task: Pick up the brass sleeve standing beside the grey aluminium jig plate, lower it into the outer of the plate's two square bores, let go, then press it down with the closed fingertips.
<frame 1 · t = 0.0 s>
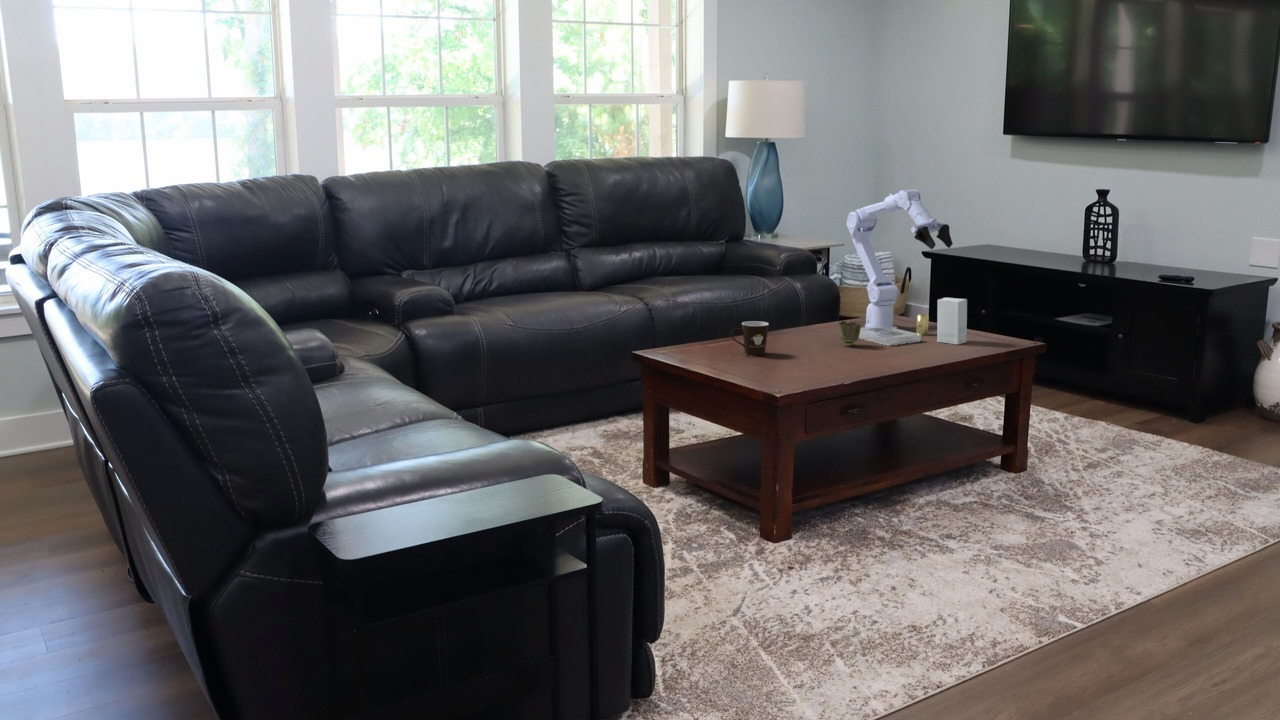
hand: (942, 246, 363), 32 cm above the table, tool tilted 50°, fingers open, 7 cm apart
brass sleeve: (921, 334, 382), on the table
jig plate: (884, 338, 375), on the table
cup: (849, 346, 364), on the table
skincare box: (950, 342, 369), on the table
coffee mug: (750, 354, 354), on the table
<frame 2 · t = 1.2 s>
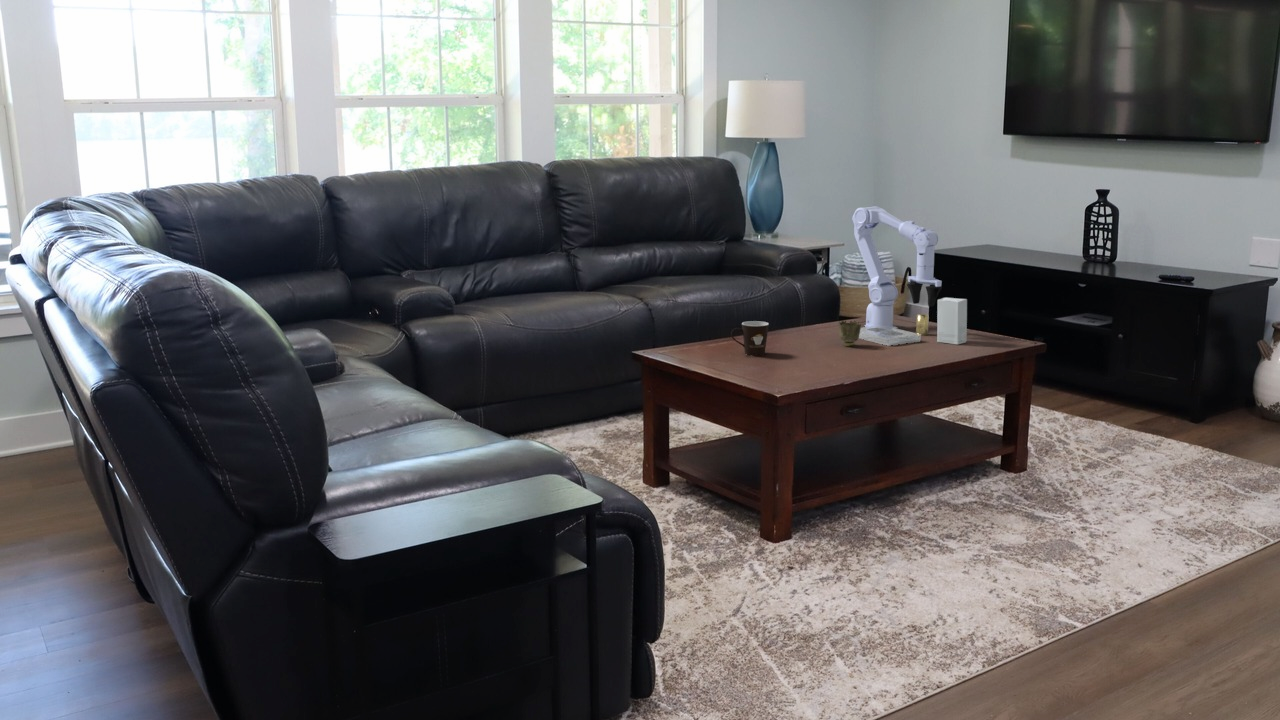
hand: (923, 304, 380), 11 cm above the table, tool pointing down, fingers open, 7 cm apart
nothing on the table moved.
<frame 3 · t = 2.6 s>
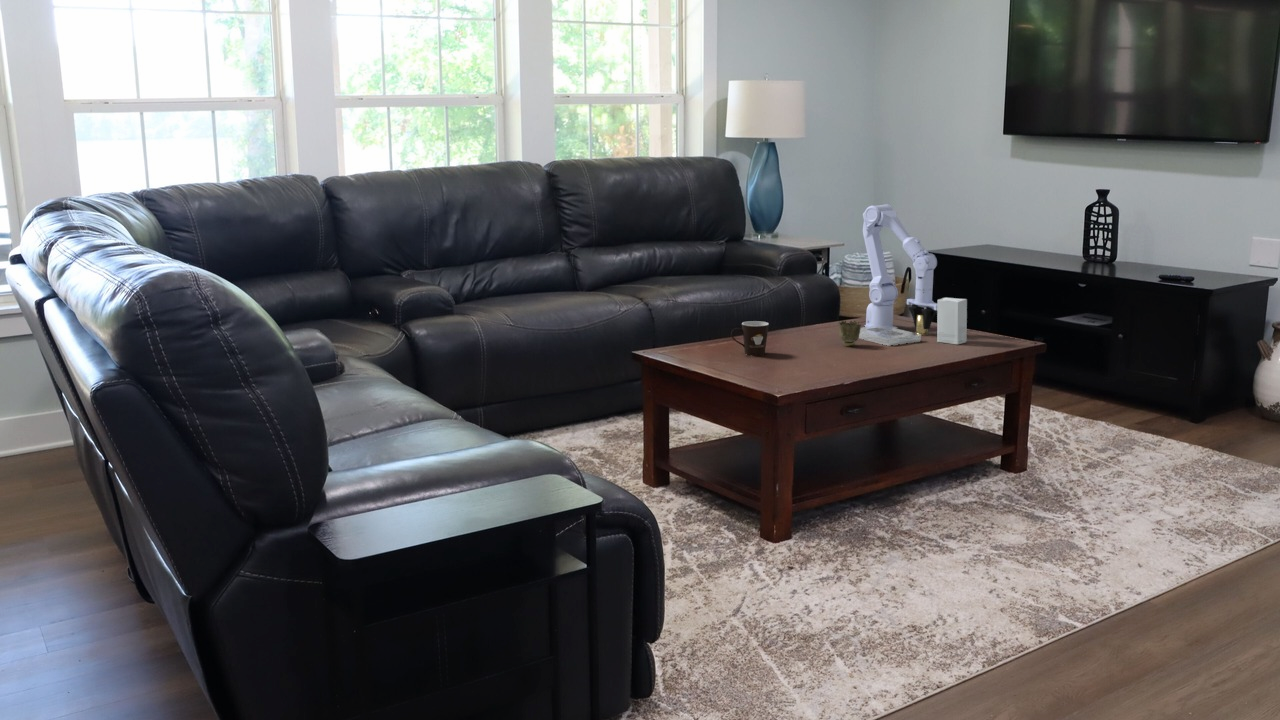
hand: (922, 327, 382), 2 cm above the table, tool pointing down, fingers closed on brass sleeve, 4 cm apart
brass sleeve: (921, 334, 382), on the table, touching gripper
everything else where it was.
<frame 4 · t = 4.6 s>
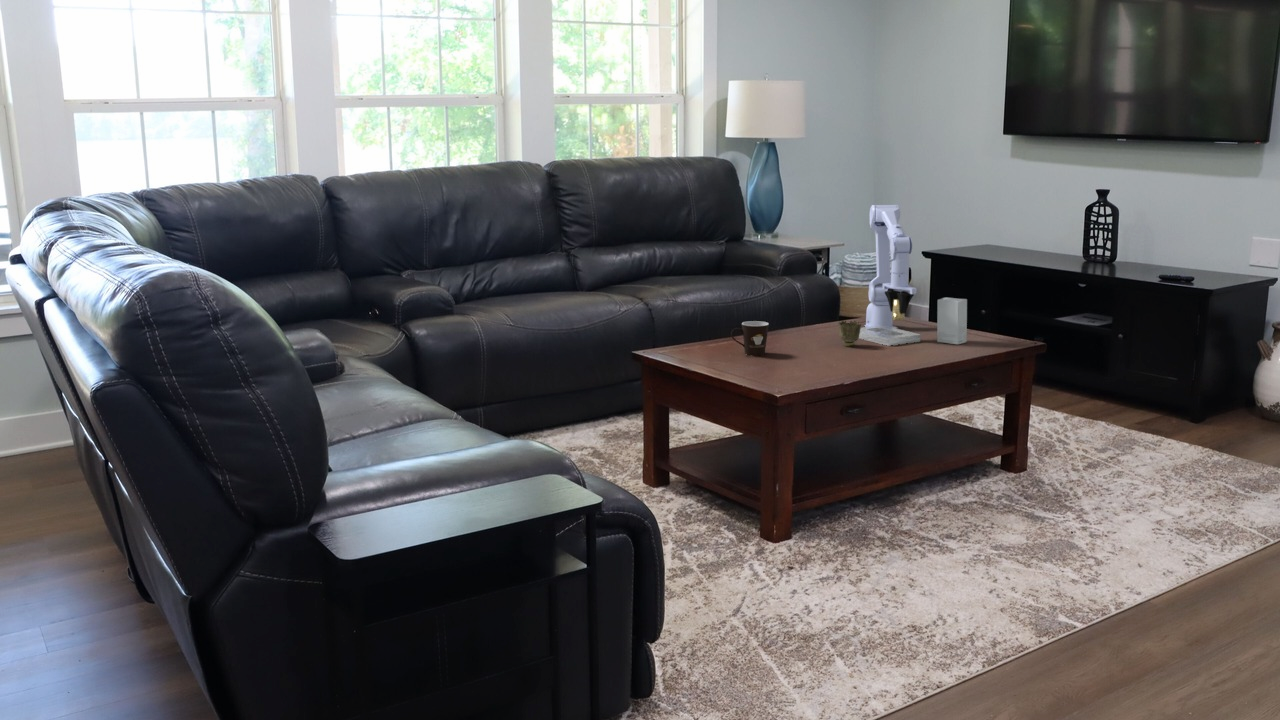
hand: (898, 312, 371), 9 cm above the table, tool pointing down, fingers closed on brass sleeve, 4 cm apart
brass sleeve: (898, 319, 372), point 7 cm above the table, touching gripper
everything else where it was.
when the fingers open (3 cm above the table, at t = 6.4 s): brass sleeve stays where it is, resting in jig plate.
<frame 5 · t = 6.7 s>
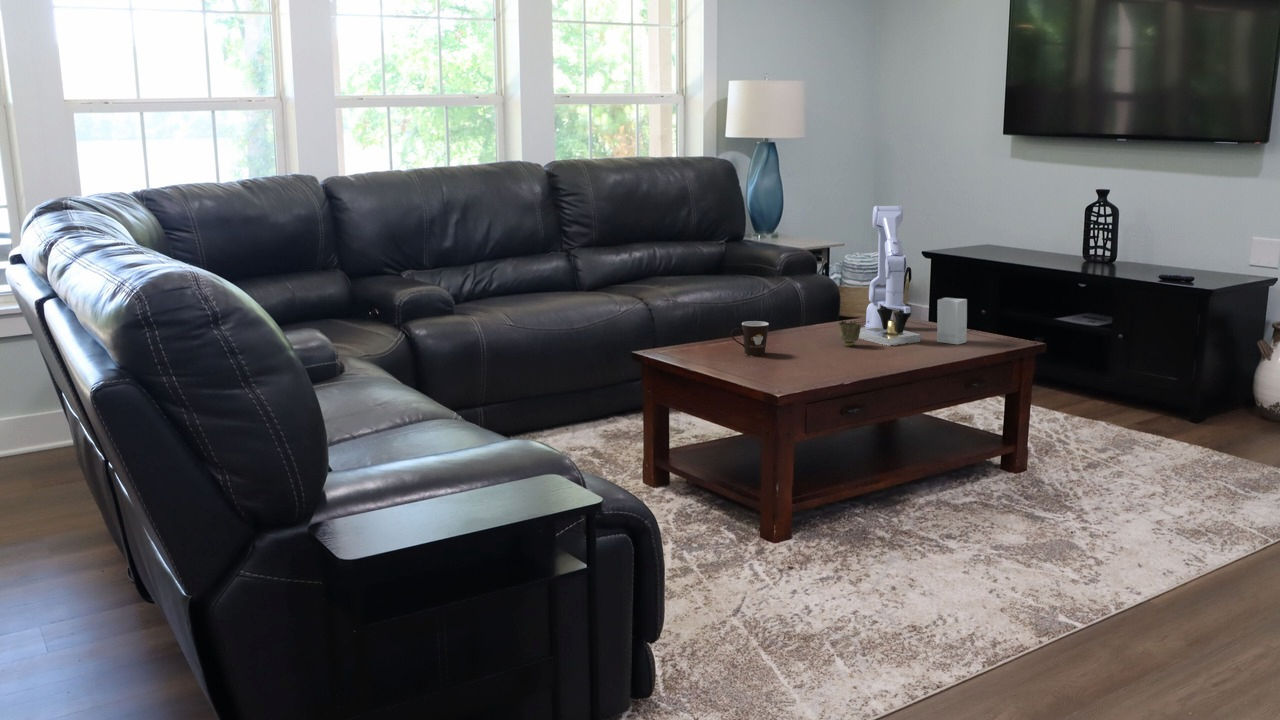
hand: (892, 331, 371), 3 cm above the table, tool pointing down, fingers open, 7 cm apart
brass sleeve: (892, 340, 372), resting in jig plate
everything else where it was.
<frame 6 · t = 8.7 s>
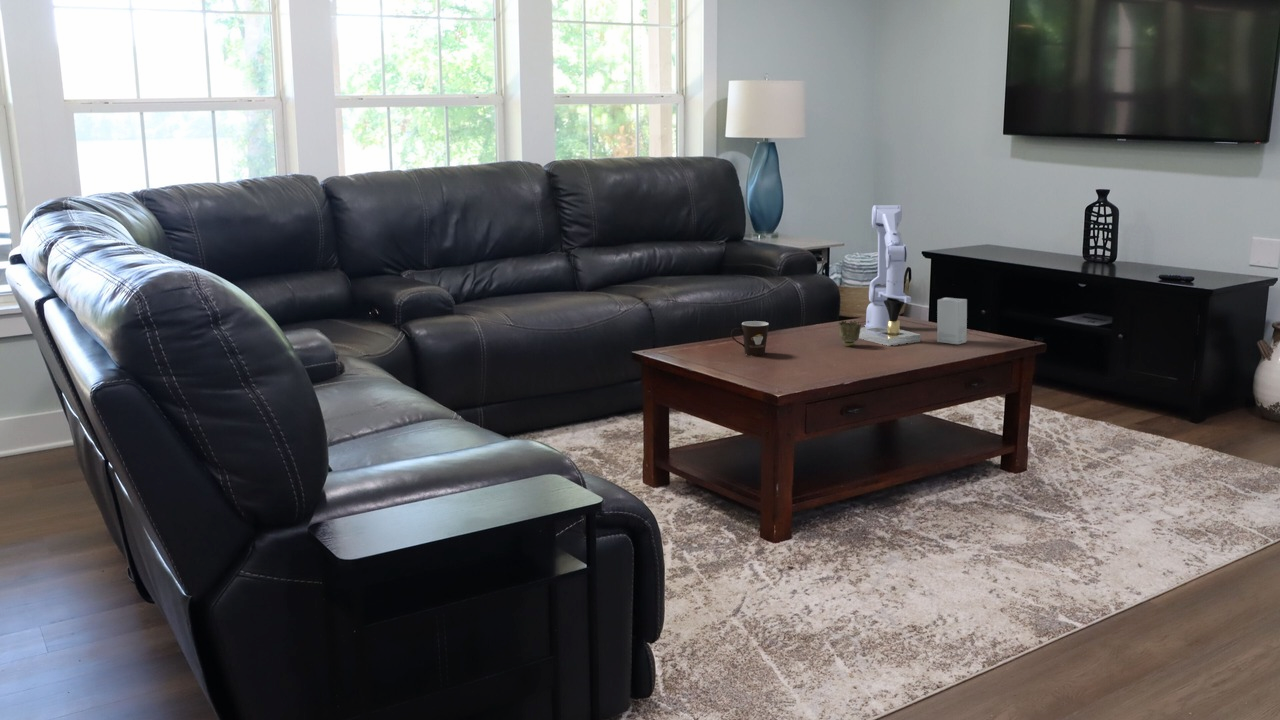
hand: (893, 320, 370), 7 cm above the table, tool pointing down, fingers closed, pressing on brass sleeve
brass sleeve: (892, 341, 372), resting in jig plate, touching gripper
everything else where it was.
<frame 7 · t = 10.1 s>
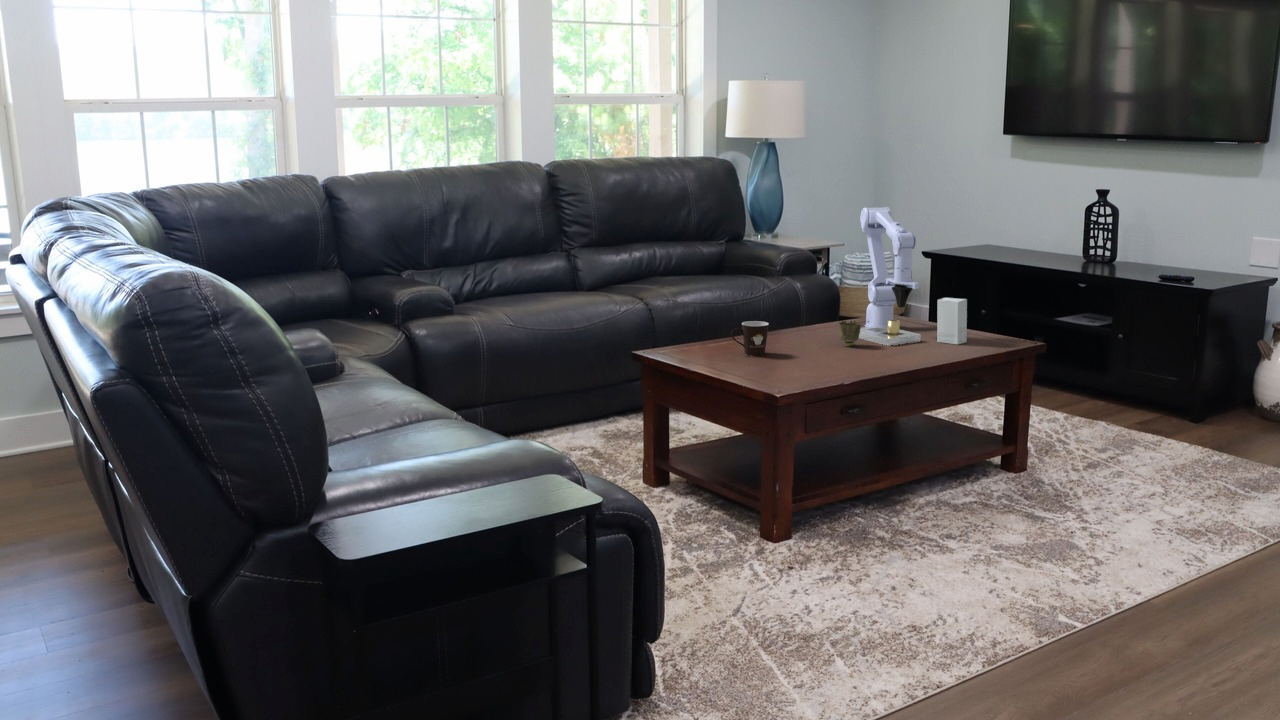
hand: (901, 307, 377), 10 cm above the table, tool pointing down, fingers closed
brass sleeve: (892, 340, 372), resting in jig plate
everything else where it was.
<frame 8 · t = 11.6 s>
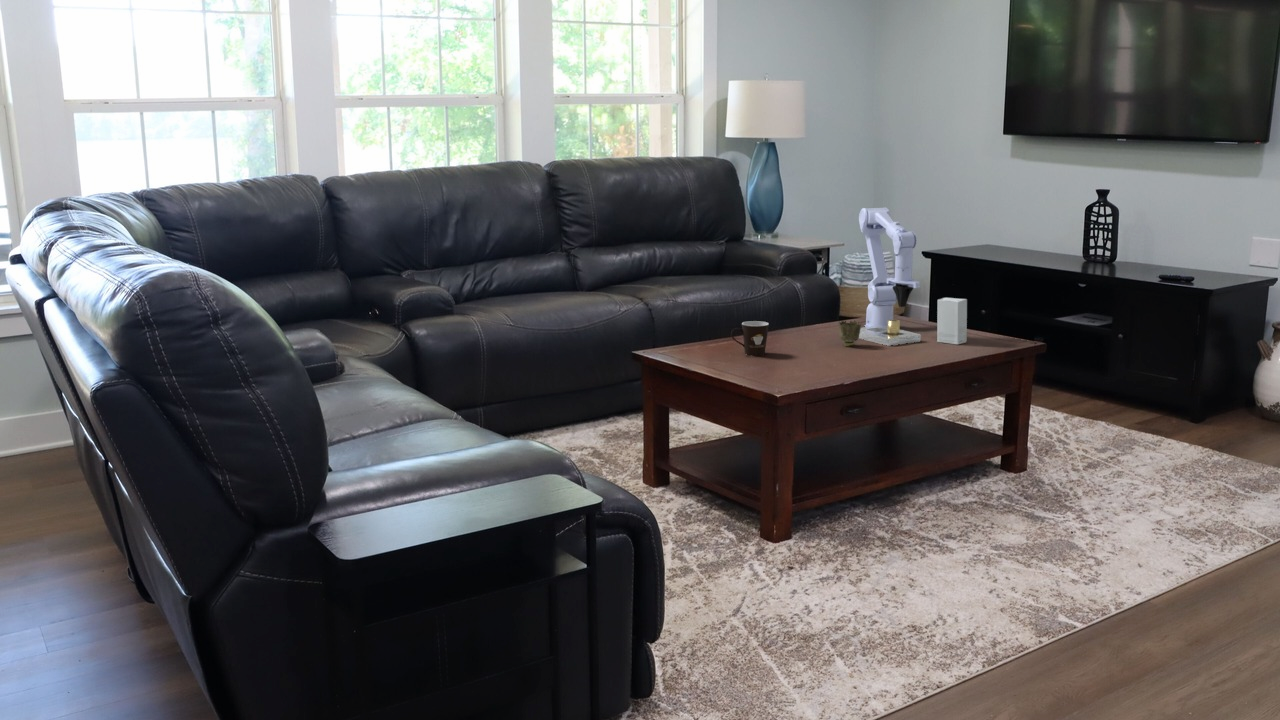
hand: (902, 306, 377), 10 cm above the table, tool pointing down, fingers closed
nothing on the table moved.
at the end: brass sleeve 0.1 cm from the target spot on the jig plate, point 0.0 cm above the jig plate's base; brass sleeve tilted 0°; the gripper is holding nothing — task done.
